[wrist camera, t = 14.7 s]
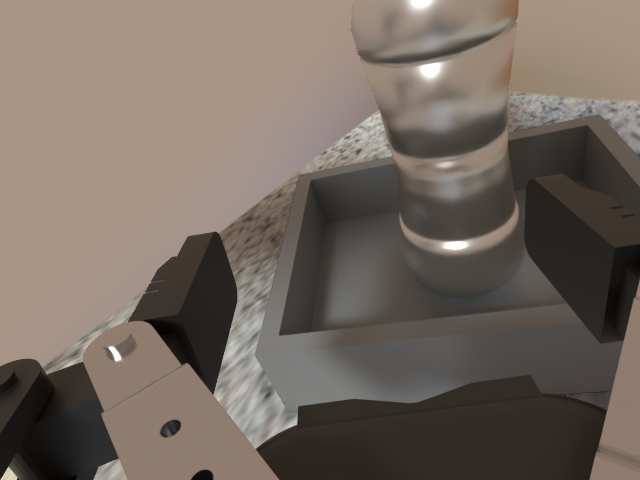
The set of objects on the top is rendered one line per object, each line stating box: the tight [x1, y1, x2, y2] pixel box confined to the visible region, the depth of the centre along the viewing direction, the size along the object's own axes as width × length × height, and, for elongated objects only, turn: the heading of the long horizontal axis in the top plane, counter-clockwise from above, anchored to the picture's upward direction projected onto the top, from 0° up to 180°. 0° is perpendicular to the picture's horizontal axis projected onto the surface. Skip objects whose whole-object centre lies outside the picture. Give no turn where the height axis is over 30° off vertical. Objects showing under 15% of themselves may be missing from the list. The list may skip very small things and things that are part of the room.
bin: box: [255, 115, 640, 412], centre depth 26 cm, size 20×16×5 cm
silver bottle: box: [351, 0, 525, 297], centre depth 21 cm, size 6×7×20 cm
